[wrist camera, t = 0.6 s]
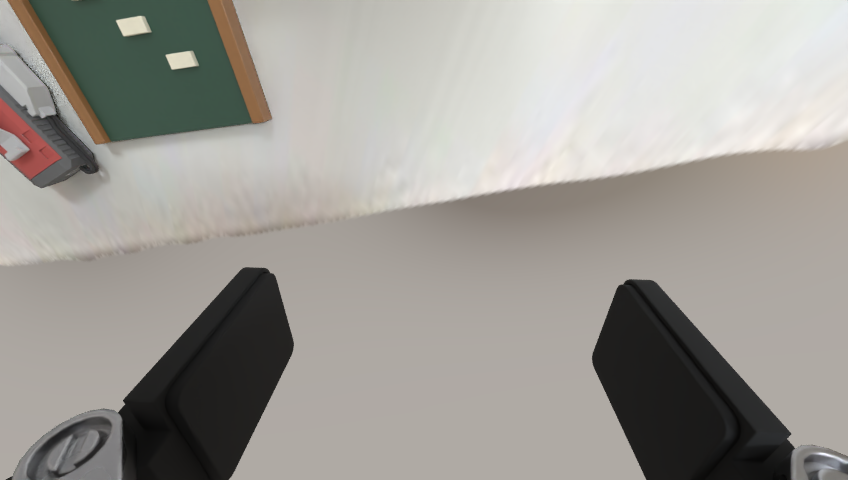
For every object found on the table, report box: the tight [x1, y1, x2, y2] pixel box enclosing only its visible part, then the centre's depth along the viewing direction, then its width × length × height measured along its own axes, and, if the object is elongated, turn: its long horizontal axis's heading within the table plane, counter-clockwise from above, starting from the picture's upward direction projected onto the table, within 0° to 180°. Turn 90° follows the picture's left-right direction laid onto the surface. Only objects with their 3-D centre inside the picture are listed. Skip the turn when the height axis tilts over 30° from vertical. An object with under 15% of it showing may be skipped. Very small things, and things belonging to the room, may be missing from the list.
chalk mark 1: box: [116, 16, 152, 37], centre depth 29 cm, size 1×2×1 cm, turn 98°
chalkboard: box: [7, 0, 272, 144], centre depth 29 cm, size 20×18×2 cm
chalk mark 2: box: [166, 51, 199, 70], centre depth 30 cm, size 1×2×1 cm, turn 97°
